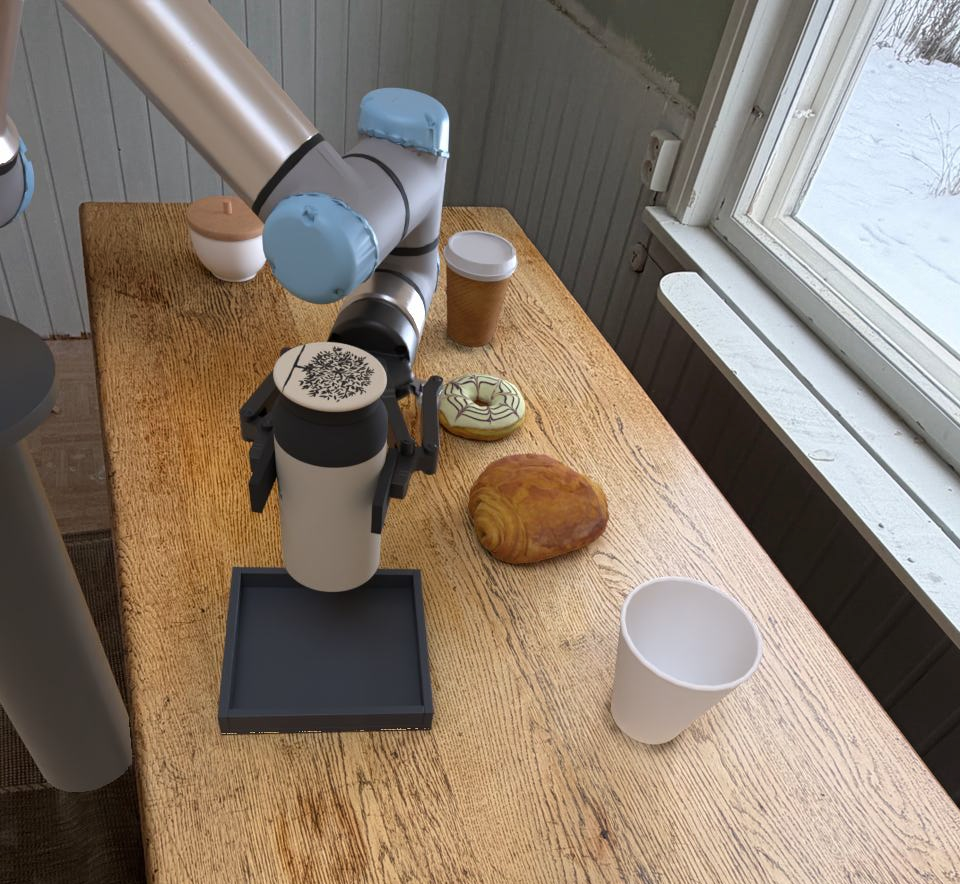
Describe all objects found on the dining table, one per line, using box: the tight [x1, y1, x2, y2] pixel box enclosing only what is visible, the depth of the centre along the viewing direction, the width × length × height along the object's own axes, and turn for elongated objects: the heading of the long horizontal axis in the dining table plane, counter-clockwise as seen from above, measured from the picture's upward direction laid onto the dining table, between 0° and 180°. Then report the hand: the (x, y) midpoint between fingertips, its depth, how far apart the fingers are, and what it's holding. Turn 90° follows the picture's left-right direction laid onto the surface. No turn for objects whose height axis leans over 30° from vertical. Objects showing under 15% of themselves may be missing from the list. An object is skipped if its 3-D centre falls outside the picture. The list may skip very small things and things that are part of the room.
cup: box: [610, 575, 763, 746], centre depth 70 cm, size 12×12×12 cm
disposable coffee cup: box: [442, 229, 518, 347], centre depth 106 cm, size 10×10×12 cm
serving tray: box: [216, 566, 435, 736], centre depth 73 cm, size 18×17×3 cm
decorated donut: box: [438, 373, 526, 441], centre depth 97 cm, size 10×11×4 cm
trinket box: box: [185, 195, 268, 283], centre depth 108 cm, size 11×11×9 cm
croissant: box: [467, 453, 610, 565], centre depth 86 cm, size 14×16×8 cm
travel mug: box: [272, 341, 388, 592], centre depth 61 cm, size 8×8×18 cm
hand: (316, 509), depth 57 cm, fingers closed on travel mug, 8 cm apart
